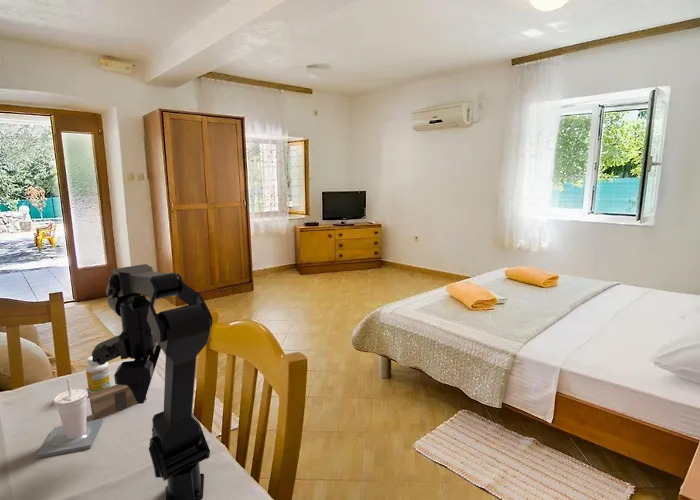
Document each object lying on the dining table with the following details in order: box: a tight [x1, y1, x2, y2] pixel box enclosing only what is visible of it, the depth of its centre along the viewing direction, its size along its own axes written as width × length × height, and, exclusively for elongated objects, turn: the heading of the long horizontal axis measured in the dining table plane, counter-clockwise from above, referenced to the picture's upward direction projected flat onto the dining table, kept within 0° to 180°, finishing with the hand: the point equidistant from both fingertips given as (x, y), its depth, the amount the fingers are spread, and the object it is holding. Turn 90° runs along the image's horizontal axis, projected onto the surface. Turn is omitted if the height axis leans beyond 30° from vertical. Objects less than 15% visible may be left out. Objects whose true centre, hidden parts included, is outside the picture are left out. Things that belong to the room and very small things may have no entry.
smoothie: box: [53, 378, 89, 439], centre depth 90 cm, size 6×6×14 cm
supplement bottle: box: [85, 355, 112, 393], centre depth 112 cm, size 5×5×10 cm
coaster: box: [36, 418, 104, 459], centre depth 91 cm, size 10×10×1 cm
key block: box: [87, 384, 147, 420], centre depth 103 cm, size 3×12×6 cm, turn 135°
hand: (144, 391), depth 87 cm, fingers open, 9 cm apart
